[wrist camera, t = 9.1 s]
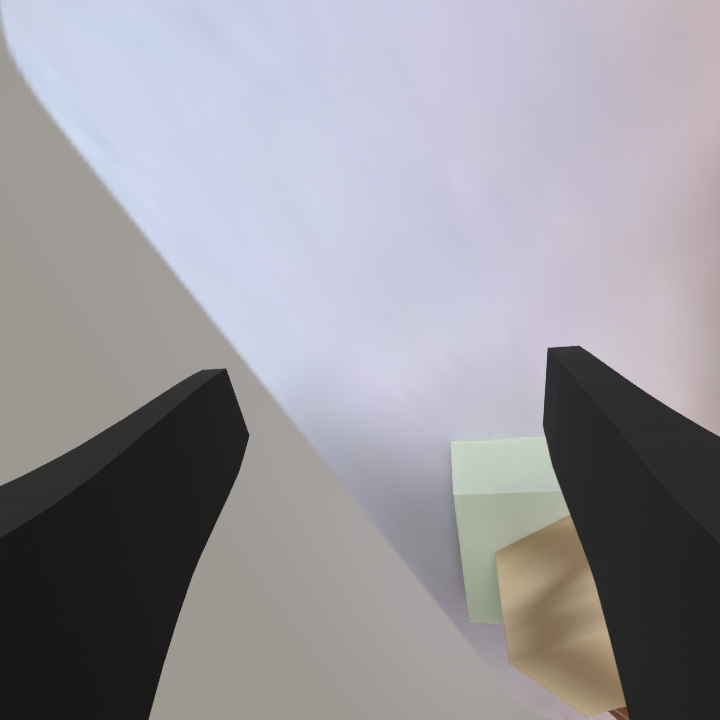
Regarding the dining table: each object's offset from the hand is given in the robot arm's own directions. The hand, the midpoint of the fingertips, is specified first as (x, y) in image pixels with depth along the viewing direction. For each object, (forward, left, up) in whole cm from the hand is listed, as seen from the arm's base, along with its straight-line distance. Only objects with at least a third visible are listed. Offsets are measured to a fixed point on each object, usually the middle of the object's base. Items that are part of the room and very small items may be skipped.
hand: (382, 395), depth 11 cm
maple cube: (-7, +14, -6) cm, 17 cm away
